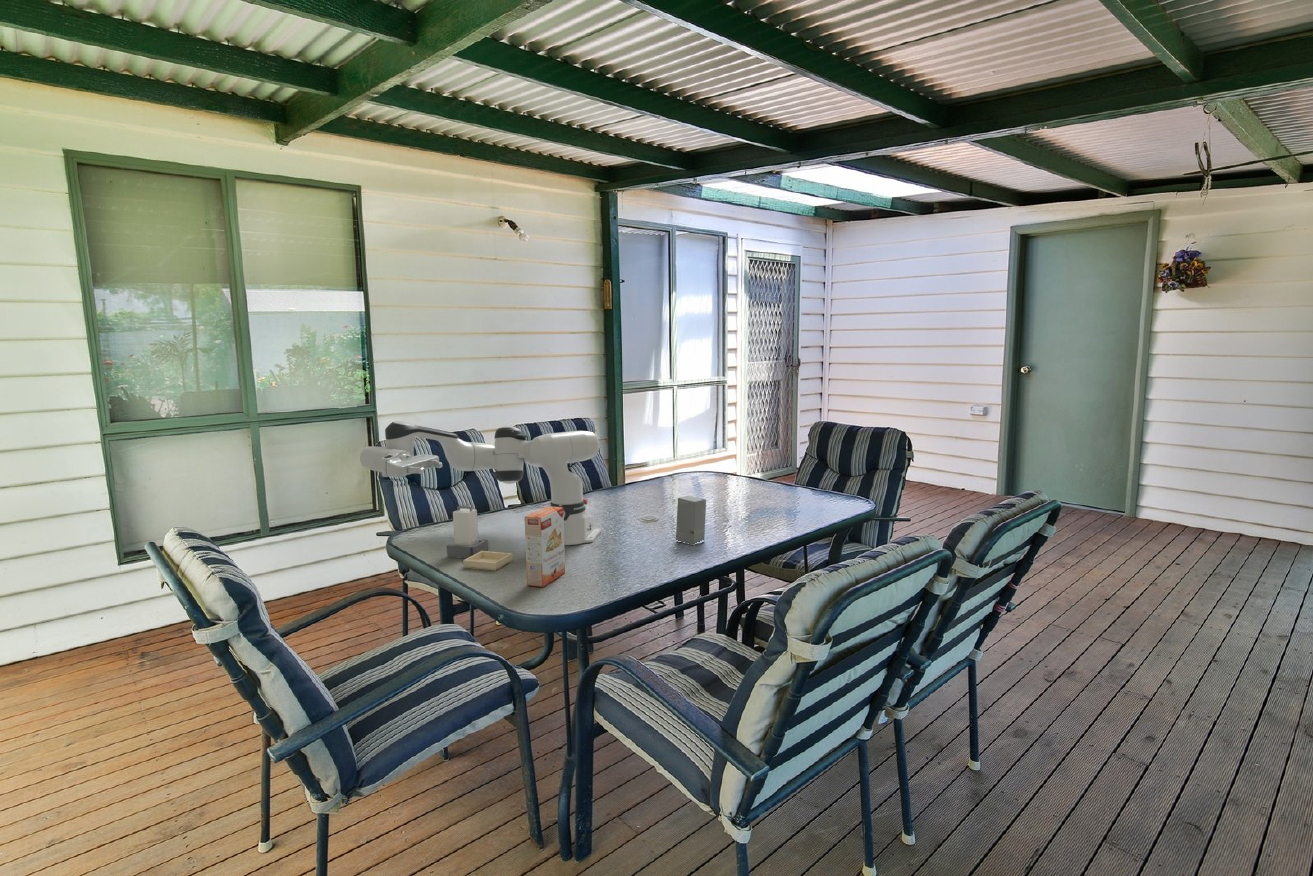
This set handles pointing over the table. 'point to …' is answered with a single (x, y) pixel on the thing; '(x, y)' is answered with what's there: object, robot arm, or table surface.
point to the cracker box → (544, 546)
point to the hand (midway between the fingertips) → (431, 468)
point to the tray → (488, 560)
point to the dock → (466, 549)
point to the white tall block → (465, 526)
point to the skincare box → (690, 519)
